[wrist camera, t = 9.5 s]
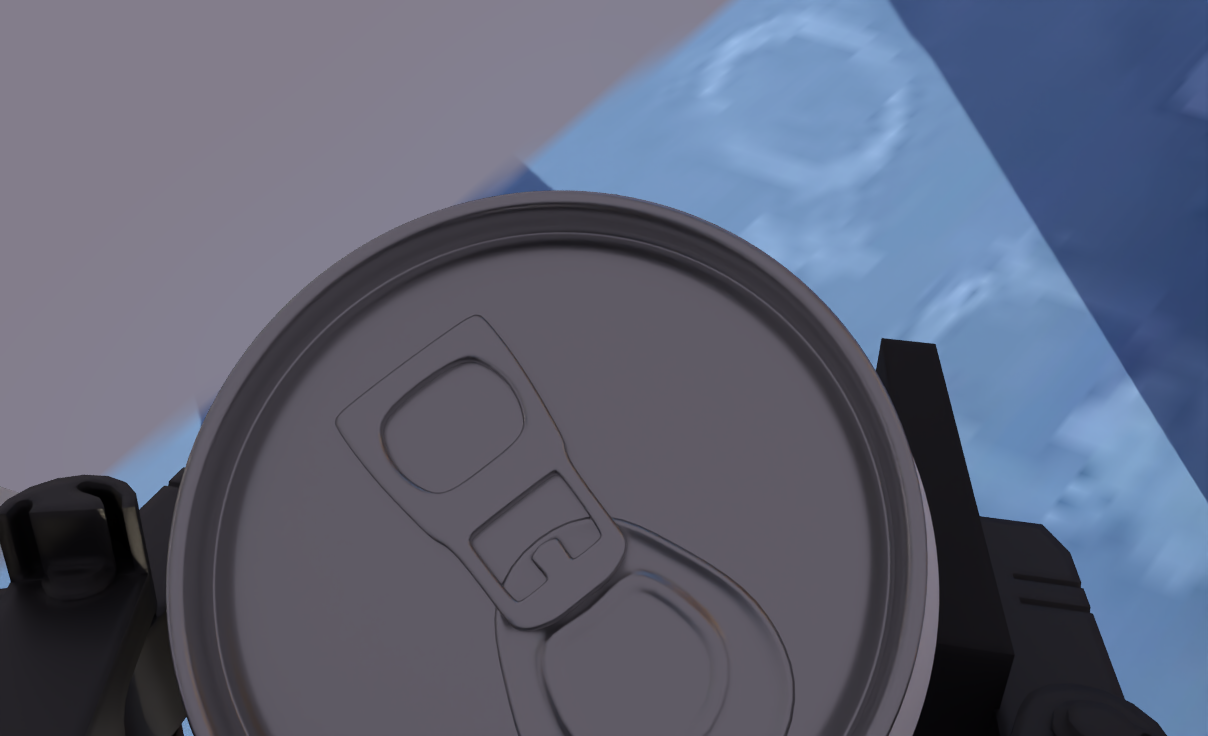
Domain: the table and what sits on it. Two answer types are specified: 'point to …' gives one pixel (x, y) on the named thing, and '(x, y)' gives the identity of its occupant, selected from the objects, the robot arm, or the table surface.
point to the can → (553, 496)
